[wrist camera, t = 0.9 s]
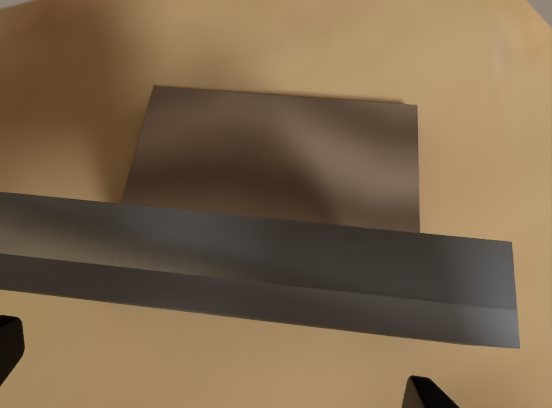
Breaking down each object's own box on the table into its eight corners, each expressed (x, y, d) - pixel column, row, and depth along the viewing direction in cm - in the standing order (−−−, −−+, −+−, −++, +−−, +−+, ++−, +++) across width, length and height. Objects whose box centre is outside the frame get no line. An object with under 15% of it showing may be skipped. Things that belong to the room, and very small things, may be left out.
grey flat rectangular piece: (388, 293, 20) (387, 339, 19) (129, 264, 21) (119, 307, 20) (511, 242, 9) (520, 348, 8) (-65, 185, 10) (-103, 274, 9)
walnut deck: (414, 335, 21) (427, 333, 19) (104, 298, 23) (85, 293, 21) (411, 115, 27) (422, 95, 25) (159, 96, 28) (149, 76, 26)
